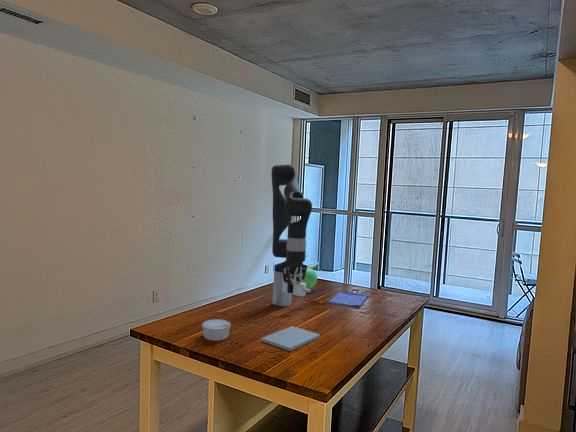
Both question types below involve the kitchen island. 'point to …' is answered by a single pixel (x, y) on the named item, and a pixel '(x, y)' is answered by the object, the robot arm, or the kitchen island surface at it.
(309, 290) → the rounded plug
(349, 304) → the dish towel
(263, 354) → the kitchen island surface
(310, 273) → the green apple
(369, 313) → the kitchen island surface
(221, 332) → the ramekin
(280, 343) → the cutting board
